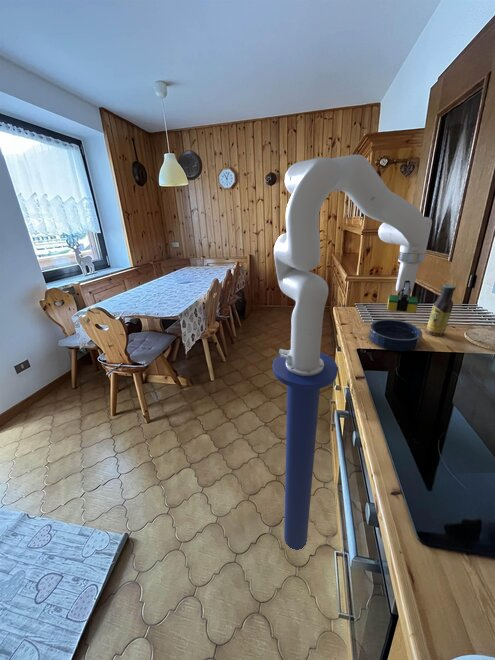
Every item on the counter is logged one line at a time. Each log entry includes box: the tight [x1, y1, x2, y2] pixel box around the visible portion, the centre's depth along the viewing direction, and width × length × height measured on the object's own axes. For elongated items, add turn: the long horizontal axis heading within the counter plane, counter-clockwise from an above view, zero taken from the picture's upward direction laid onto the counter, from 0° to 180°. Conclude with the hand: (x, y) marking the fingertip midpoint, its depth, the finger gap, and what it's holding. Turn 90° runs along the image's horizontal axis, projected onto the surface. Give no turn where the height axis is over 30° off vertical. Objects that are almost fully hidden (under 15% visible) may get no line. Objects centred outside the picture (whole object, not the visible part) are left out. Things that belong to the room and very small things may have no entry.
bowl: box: [368, 319, 423, 352], centre depth 108 cm, size 18×18×5 cm
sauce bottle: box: [426, 283, 457, 337], centre depth 108 cm, size 7×6×20 cm
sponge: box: [386, 294, 419, 314], centre depth 101 cm, size 9×6×4 cm, turn 65°
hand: (401, 306), depth 102 cm, fingers closed on sponge, 6 cm apart
